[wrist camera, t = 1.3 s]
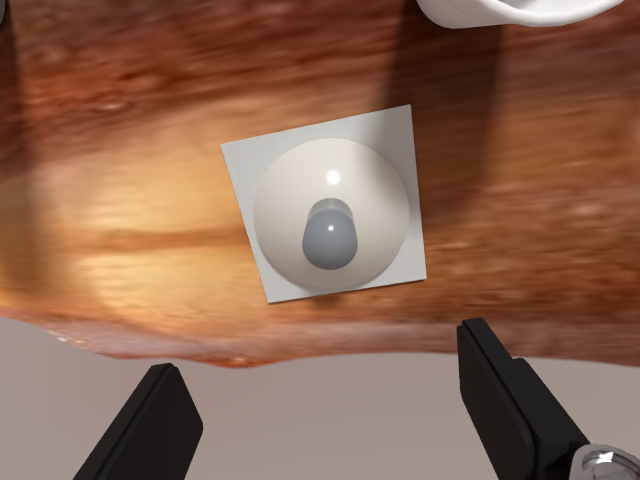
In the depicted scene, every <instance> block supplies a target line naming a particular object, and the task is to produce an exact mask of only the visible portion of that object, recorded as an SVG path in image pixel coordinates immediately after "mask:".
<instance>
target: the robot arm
mask: <svg viewBox="0 0 640 480" xmlns="http://www.w3.org/2000/svg"><path fill="white" fill-rule="evenodd" d="M457 344H458V361H459V378H460V391H461V396H462V399H463V402H464V404H465V406H466V409H467V411H468V413H469V415H470V417H471V420H472V422H473V424H474V426H475V428H476V430H477V433H478V435H479V437H480V439H481V442H482V443H483V446H484V448H485V450H486V453H487V455H488V457H489V459H490V461H491V463H492V465H493V468H494V470H495V472H496V474H497V477H498V479H499V480H640V460H639V459H638V458H636V457H635V456H633V455H631V454H629V453H627V452H625V451H623V450H621V449H619V448H616V447H612V446H609V445H604V444H591V443H590V442H589V441H588V440H587V438H586V437H585V435H584V434H583V433H582V432H581V430H580V429H579V428H578V427H577V425H576V424H575V423H574V421H573V420H572V419H571V417H570V416H569V415H568V414H567V412H566V411H565V410H564V408H563V407H562V406H561V405H560V403H559V402H558V401H557V399H556V398H555V397H554V396H553V395H552V393H551V392H550V391H549V389H548V388H547V387H546V385H545V384H544V383H543V381H542V380H541V379H540V378H539V376H538V375H537V374H536V373H535V371H534V370H533V369H532V367H531V366H530V365H529V364H528V363H527V361H526V360H525V359H523V358H516V359H512V357H511V356H510V354H509V353H508V352H507V350H506V349H505V348H504V346H503V345H502V344H501V342H500V341H499V339H498V338H497V337H496V335H495V334H494V333H493V331H492V330H491V328H490V327H489V326H488V324H487V323H486V322H485V320H484V319H483V318H474V319H467V320H463V321H462V325H459V326H457ZM202 432H203V422H202V420H201V418H200V415H199V413H198V411H197V409H196V407H195V404H194V402H193V400H192V398H191V396H190V393H189V391H188V389H187V387H186V385H185V382H184V380H183V378H182V376H181V374H180V371H179V369H178V368H177V367H174V366H173V364H171V363H164V364H158V365H153V366H151V367H150V369H149V370H148V371H147V373H146V374H145V376H144V377H143V379H142V380H141V381H140V383H139V384H138V386H137V387H136V389H135V390H134V392H133V393H132V395H131V396H130V397H129V399H128V400H127V402H126V403H125V405H124V406H123V407H122V409H121V411H120V412H119V413H118V415H117V416H116V418H115V419H114V421H113V422H112V423H111V425H110V426H109V428H108V429H107V431H106V432H105V433H104V435H103V436H102V438H101V439H100V441H99V442H98V444H97V445H96V446H95V448H94V450H93V451H92V452H91V454H90V455H89V457H88V458H87V459H86V461H85V462H84V464H83V465H82V467H81V468H80V470H79V471H78V472H77V474H76V475H75V477H74V478H73V480H184V479H185V476H186V473H187V471H188V469H189V466H190V463H191V461H192V458H193V456H194V453H195V451H196V448H197V446H198V443H199V440H200V438H201V435H202Z"/></svg>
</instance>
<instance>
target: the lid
mask: <svg viewBox="0 0 640 480" xmlns="http://www.w3.org/2000/svg"><path fill="white" fill-rule="evenodd" d="M253 223H254V228H255V233H256V236H257V239H258V241H259V244H260V246H261V248H262V249H263V251H264V253H265V254H266V256H267V257H268V258H269V260H270V261H271V262H272V263H273V264H274V265H275V266H276V267H277V268H278V269H279V270H281V271H282V272H283V273H285V274H286V275H288V276H289V277H291V278H293V279H295V280H297V281H299V282H301V283H304V284H307V285H311V286H315V287H321V288H341V287H347V286H352V285H355V284H358V283H361V282H363V281H365V280H367V279H370V278H371V277H373V276H374V275H376V274H378V273H379V272H380V271H381V270H383V269H384V268H385V267H386V266H387V265H388V264H389V263H390V262H391V261H392V260H393V258H394V257H395V256H396V254H397V253H398V251H399V250H400V248H401V246H402V244H403V242H404V239H405V237H406V233H407V229H408V224H409V203H408V197H407V194H406V191H405V188H404V185H403V183H402V181H401V179H400V177H399V176H398V174H397V173H396V171H395V170H394V168H393V167H392V166H391V165H390V164H389V163H388V162H387V161H386V160H385V159H384V158H383V157H382V156H381V155H379V154H378V153H377V152H376V151H374V150H372V149H371V148H369V147H367V146H365V145H363V144H361V143H358V142H355V141H352V140H348V139H342V138H321V139H314V140H311V141H307V142H304V143H302V144H299V145H297V146H295V147H293V148H292V149H290V150H288V151H287V152H285V153H284V154H283V155H282V156H280V157H279V158H278V159H277V160H276V161H275V162H274V163H273V164H272V165H271V166H270V167H269V169H268V170H267V172H266V173H265V174H264V176H263V178H262V180H261V182H260V184H259V185H258V188H257V191H256V194H255V199H254V204H253Z"/></svg>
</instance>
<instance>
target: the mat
mask: <svg viewBox="0 0 640 480" xmlns="http://www.w3.org/2000/svg"><path fill="white" fill-rule="evenodd" d="M321 138H342V139H348V140H352V141H355V142H358V143H361V144H363V145H365V146H367V147H369V148H371V149H372V150H374V151H376V152H377V153H378V154H379V155H381V156H382V157H383V158H384V159H385V160H386V161H387V162H388V163H389V164H390V165H391V166H392V167H393V168H394V170H395V171H396V173H397V174H398V176H399V177H400V179H401V181H402V183H403V185H404V188H405V191H406V194H407V197H408V203H409V224H408V229H407V233H406V237H405V239H404V242H403V244H402V246H401V248H400V250H399V251H398V253H397V254H396V256H395V257H394V258H393V260H392V261H391V262H390V263H389V264H388V265H387V266H386V267H385V268H384V269H383V270H381V271H380V272H379V273H378V274H376V275H374V276H373V277H371V278H370V279H367V280H365V281H363V282H361V283H358V284H355V285H352V286H347V287H341V288H321V287H315V286H311V285H307V284H304V283H301V282H299V281H297V280H295V279H293V278H291V277H289V276H288V275H286V274H285V273H283V272H282V271H281V270H279V269H278V268H277V267H276V266H275V265H274V264H273V263H272V262H271V261H270V260H269V258H268V257H267V256H266V254H265V253H264V251H263V249H262V248H261V246H260V244H259V241H258V239H257V236H256V233H255V228H254V223H253V204H254V199H255V194H256V191H257V188H258V185H259V184H260V182H261V180H262V178H263V176H264V174H265V173H266V172H267V170H268V169H269V167H270V166H271V165H272V164H273V163H274V162H275V161H276V160H277V159H278V158H279V157H280V156H282V155H283V154H284V153H285V152H287V151H288V150H290V149H292V148H293V147H295V146H297V145H299V144H302V143H304V142H307V141H311V140H314V139H321ZM220 145H221V148H222V151H223V155H224V158H225V161H226V165H227V168H228V171H229V174H230V178H231V181H232V184H233V188H234V191H235V194H236V198H237V201H238V204H239V208H240V211H241V214H242V218H243V221H244V224H245V228H246V231H247V234H248V238H249V241H250V244H251V248H252V251H253V254H254V257H255V261H256V264H257V267H258V271H259V274H260V277H261V281H262V284H263V287H264V291H265V294H266V297H267V301H268V303H272V302H278V301H285V300H291V299H298V298H304V297H311V296H317V295H324V294H330V293H337V292H343V291H350V290H356V289H363V288H369V287H376V286H382V285H389V284H395V283H402V282H408V281H415V280H421V279H427V278H426V267H425V256H424V246H423V235H422V224H421V213H420V202H419V191H418V180H417V169H416V158H415V147H414V137H413V126H412V115H411V104H408V105H404V106H399V107H394V108H390V109H385V110H380V111H375V112H371V113H366V114H361V115H356V116H352V117H347V118H342V119H337V120H333V121H328V122H323V123H318V124H314V125H309V126H304V127H300V128H295V129H290V130H285V131H281V132H276V133H271V134H266V135H262V136H257V137H252V138H247V139H243V140H238V141H233V142H229V143H224V144H220Z"/></svg>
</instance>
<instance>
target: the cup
mask: <svg viewBox="0 0 640 480" xmlns="http://www.w3.org/2000/svg"><path fill="white" fill-rule="evenodd" d="M623 1H624V0H417V2H418V4H419V6H420V8H421V10H422V11H423V13H424V14H425V15H426V16H427V17H428V18H429V19H430V20H431V21H433V22H434V23H436V24H438V25H440V26H442V27H446V28H452V29H457V28H470V27H480V26H490V25H500V24H513V23H515V24H520V25H526V26H531V27H546V26H562V25H566V24H570V23H573V22H577V21H581V20H585V19H588V18H591V17H593V16H595V15H597V14H599V13H601V12H604V11H606V10H608V9H610V8H612V7H614V6H616V5H618V4H620V3H621V2H623Z"/></svg>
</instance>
